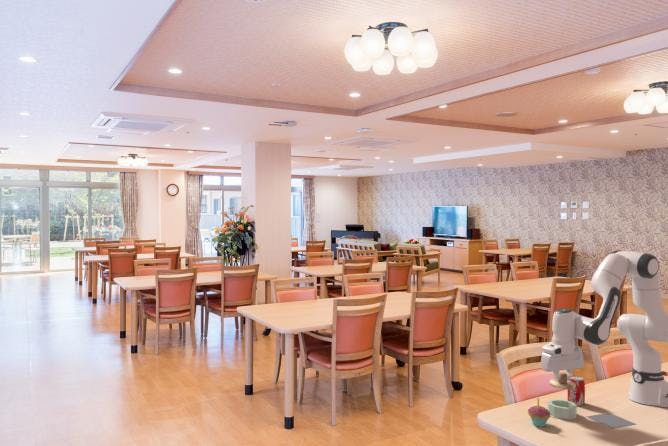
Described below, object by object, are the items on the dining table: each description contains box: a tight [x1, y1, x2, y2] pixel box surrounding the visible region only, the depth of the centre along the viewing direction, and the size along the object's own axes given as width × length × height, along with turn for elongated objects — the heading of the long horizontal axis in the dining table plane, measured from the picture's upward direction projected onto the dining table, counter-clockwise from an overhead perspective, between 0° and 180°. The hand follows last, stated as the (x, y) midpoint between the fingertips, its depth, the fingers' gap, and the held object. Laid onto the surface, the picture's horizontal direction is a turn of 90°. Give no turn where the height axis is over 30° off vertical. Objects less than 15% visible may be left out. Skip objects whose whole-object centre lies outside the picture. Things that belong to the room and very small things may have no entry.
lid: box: [549, 372, 576, 390], centre depth 219 cm, size 10×10×5 cm
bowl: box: [547, 398, 578, 420], centre depth 220 cm, size 11×11×5 cm
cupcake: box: [527, 397, 551, 428], centre depth 210 cm, size 9×8×12 cm
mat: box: [585, 412, 637, 430], centre depth 214 cm, size 13×13×1 cm
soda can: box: [567, 375, 586, 407], centre depth 233 cm, size 7×7×12 cm
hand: (562, 379), depth 219 cm, fingers closed on lid, 4 cm apart
